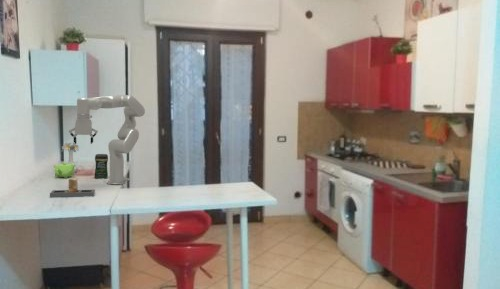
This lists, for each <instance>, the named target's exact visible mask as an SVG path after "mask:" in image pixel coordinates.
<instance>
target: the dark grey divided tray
mask: <svg viewBox="0 0 500 289" xmlns="http://www.w3.org/2000/svg"><path fill="white" fill-rule="evenodd" d="M94 194H95V195H96V189H77V192H69V189H54V190H51V192H49V198H78V197H79V198H85V197H84V196H92V197H94V196H95V195H94Z"/></svg>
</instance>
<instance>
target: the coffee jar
mask: <svg viewBox="0 0 500 289" xmlns="http://www.w3.org/2000/svg"><path fill="white" fill-rule="evenodd" d="M94 161H95V169H94V178H95V179H98V178H104V179H107V177H108V178H109V169H108V161H109V156H108V154H107V153H97V154H95V156H94Z"/></svg>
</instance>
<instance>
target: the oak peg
mask: <svg viewBox="0 0 500 289" xmlns="http://www.w3.org/2000/svg"><path fill="white" fill-rule="evenodd" d="M68 190H69V192H77V190H78V178H69V179H68Z"/></svg>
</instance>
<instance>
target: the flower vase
mask: <svg viewBox="0 0 500 289" xmlns="http://www.w3.org/2000/svg"><path fill="white" fill-rule="evenodd" d="M79 149H80V146H79V145H78V144H77V143H76V144H75V142H65V143H64V142H63V145H62V146H61V152H66V151H67V152H68V162H67V164H70V163H72V164H74V165H75V163H74V153H77V152H79V151H80V150H79ZM77 170H78V167H77V165H76V166H75V167H74V171H75V172H76V171H77Z"/></svg>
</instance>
